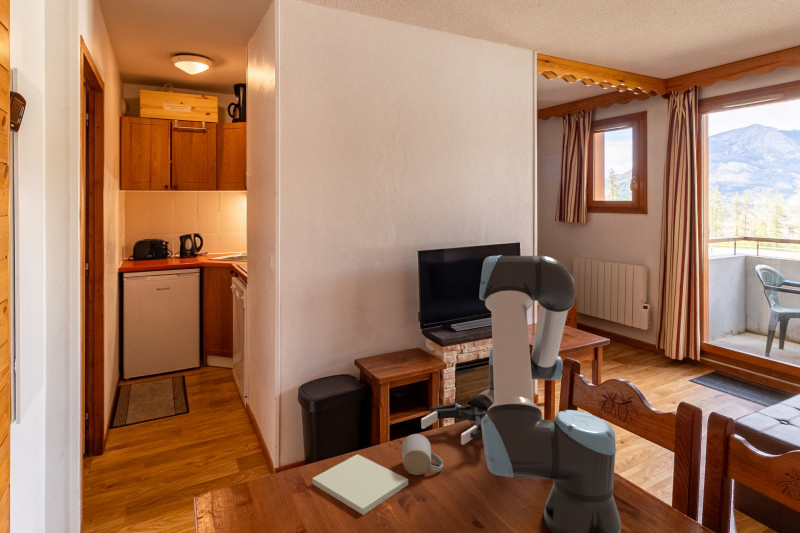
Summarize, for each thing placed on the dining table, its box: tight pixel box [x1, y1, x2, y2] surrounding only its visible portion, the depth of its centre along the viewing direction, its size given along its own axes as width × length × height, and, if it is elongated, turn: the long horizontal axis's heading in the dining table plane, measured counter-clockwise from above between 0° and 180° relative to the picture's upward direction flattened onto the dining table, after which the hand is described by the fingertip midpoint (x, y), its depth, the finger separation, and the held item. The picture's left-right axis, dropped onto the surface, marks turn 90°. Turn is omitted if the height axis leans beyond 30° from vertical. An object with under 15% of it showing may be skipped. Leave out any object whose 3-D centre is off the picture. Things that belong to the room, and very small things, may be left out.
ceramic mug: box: [401, 433, 444, 476], centre depth 123 cm, size 11×8×8 cm
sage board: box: [311, 453, 409, 516], centre depth 117 cm, size 18×15×2 cm
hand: (441, 431), depth 130 cm, fingers open, 13 cm apart
